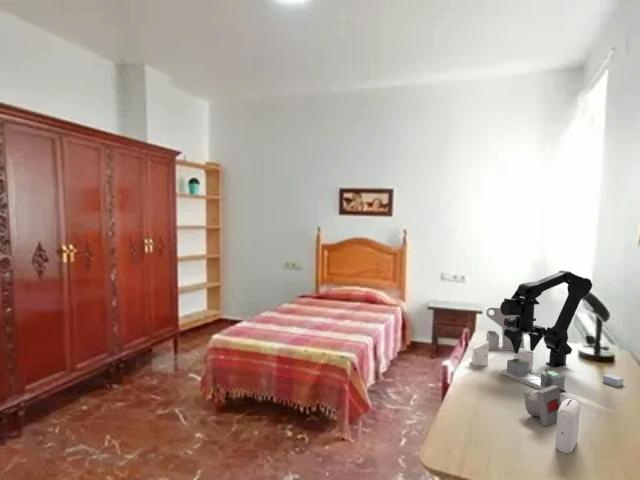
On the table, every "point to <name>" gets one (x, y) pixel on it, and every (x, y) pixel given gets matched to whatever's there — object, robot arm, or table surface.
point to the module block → (525, 356)
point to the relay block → (613, 380)
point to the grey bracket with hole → (494, 337)
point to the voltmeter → (544, 403)
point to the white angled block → (480, 354)
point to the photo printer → (567, 425)
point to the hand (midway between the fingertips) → (524, 352)
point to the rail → (520, 372)
